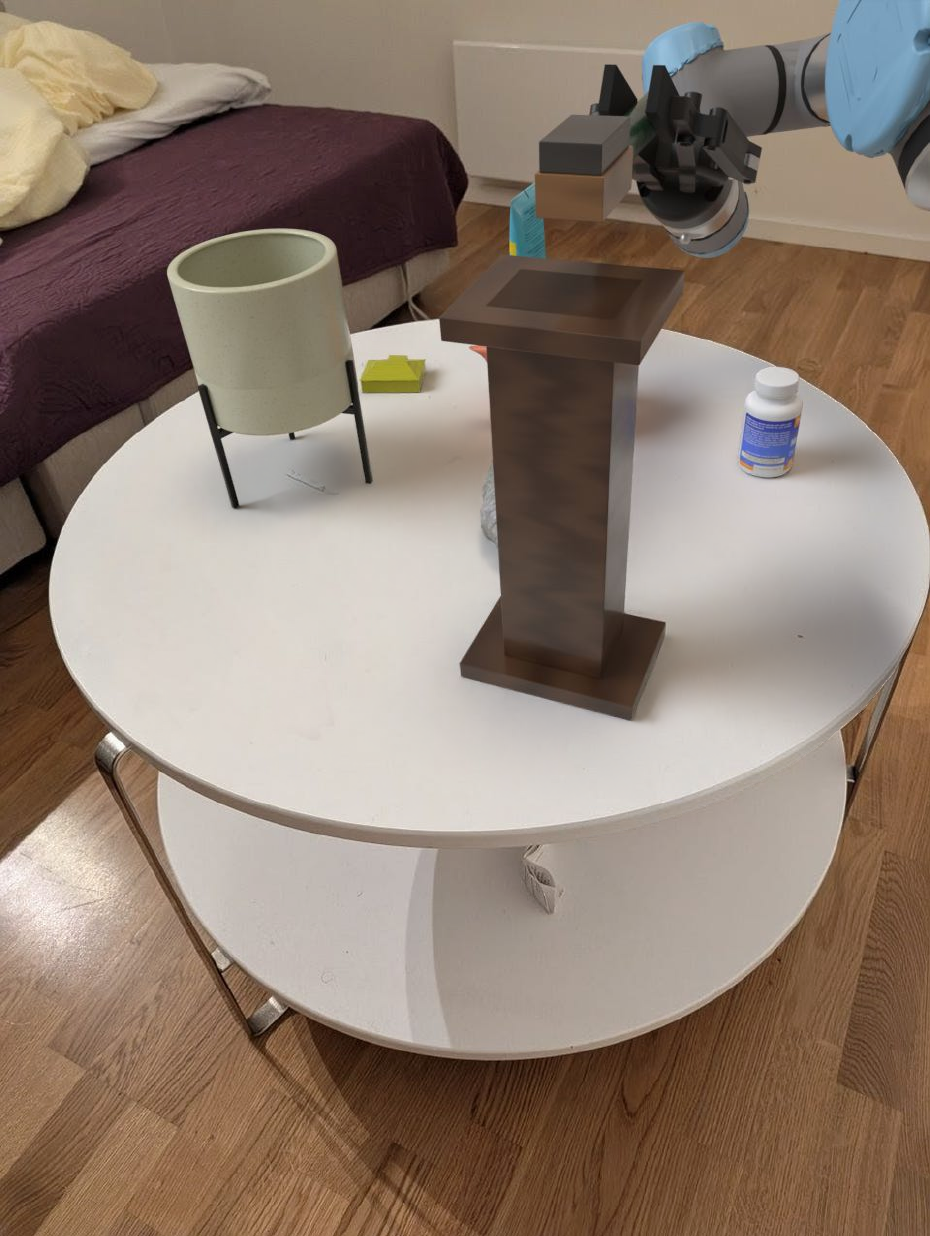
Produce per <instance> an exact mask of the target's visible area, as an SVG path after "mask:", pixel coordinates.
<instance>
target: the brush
mask: <svg viewBox="0 0 930 1236" xmlns="http://www.w3.org/2000/svg"><path fill="white" fill-rule="evenodd" d="M648 92H649V91H648ZM648 92H647V93H646V94H645V95H644V94H643V96H641V98H639V99H638V100H637V103H636V104H635V105H633V106H632V107H631V108H630V109H629V110H628V111H627V112H626V113H625V114H624V115H623V116H599V115H589V114H570V115H569V116H568V117H567V118H565V119H564V120H563V121H561V122H560V124H558V125H557V126H556V127H555V128H553V129H552V130H551V131H550V132H549V133H548V134H546V135H545V136H544V137H543V138H541V139H540V140H539V141H538V165H539V166H538V170H537V171H536V172H535V173H534V183H535V217H536V218H543V219H546V220H547V219H548V220H560V221H561V220H562V221H576V222H588V223H589V222H590V223H603V222H604V221H605V220H606V219H607V218H608V216H609V215H610V214H611V213H612V212H613V211H614V209H616V207H617V206H618V205H619V204H620V202H621V201H623V199H624V198H625V197H626V195H627V194H628V193H629V192H630V191H631V190H632V186H633V185H632V183H633V179H632V165H633V159H634V158H635V157H636V156H637V155H638V154H639V153H640V152H641V151H642V149H643V148H644V147H645V146H646V145H647V144H648V143H649V142H650V141H651V140H652V138H653V137H654V136H655V135H656V134H657V131H656V129H655V128H654V126H653V125H652V123H651V122H650V120H649V118H648V117H647V115H646V113H645V110H646V104H647V98H648Z"/></svg>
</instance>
